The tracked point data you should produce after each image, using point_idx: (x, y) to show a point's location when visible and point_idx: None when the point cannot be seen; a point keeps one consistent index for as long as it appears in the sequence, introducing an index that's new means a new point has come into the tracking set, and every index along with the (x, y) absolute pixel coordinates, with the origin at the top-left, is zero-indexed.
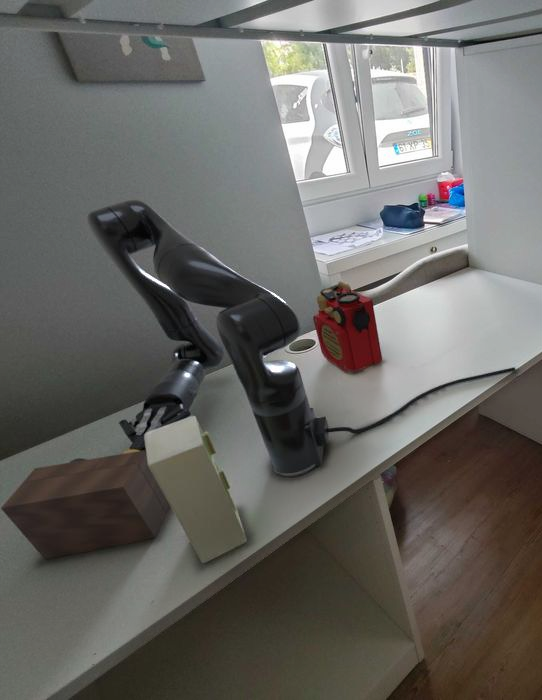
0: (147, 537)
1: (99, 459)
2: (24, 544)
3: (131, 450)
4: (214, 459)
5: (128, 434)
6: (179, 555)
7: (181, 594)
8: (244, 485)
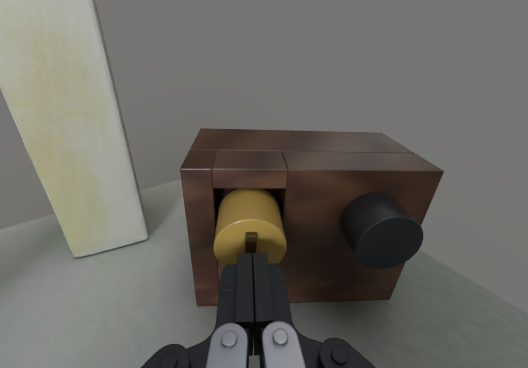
0: None
1: (291, 165)
2: (419, 263)
3: (243, 216)
4: (20, 129)
5: (339, 340)
6: (171, 215)
7: (165, 187)
8: (30, 318)
